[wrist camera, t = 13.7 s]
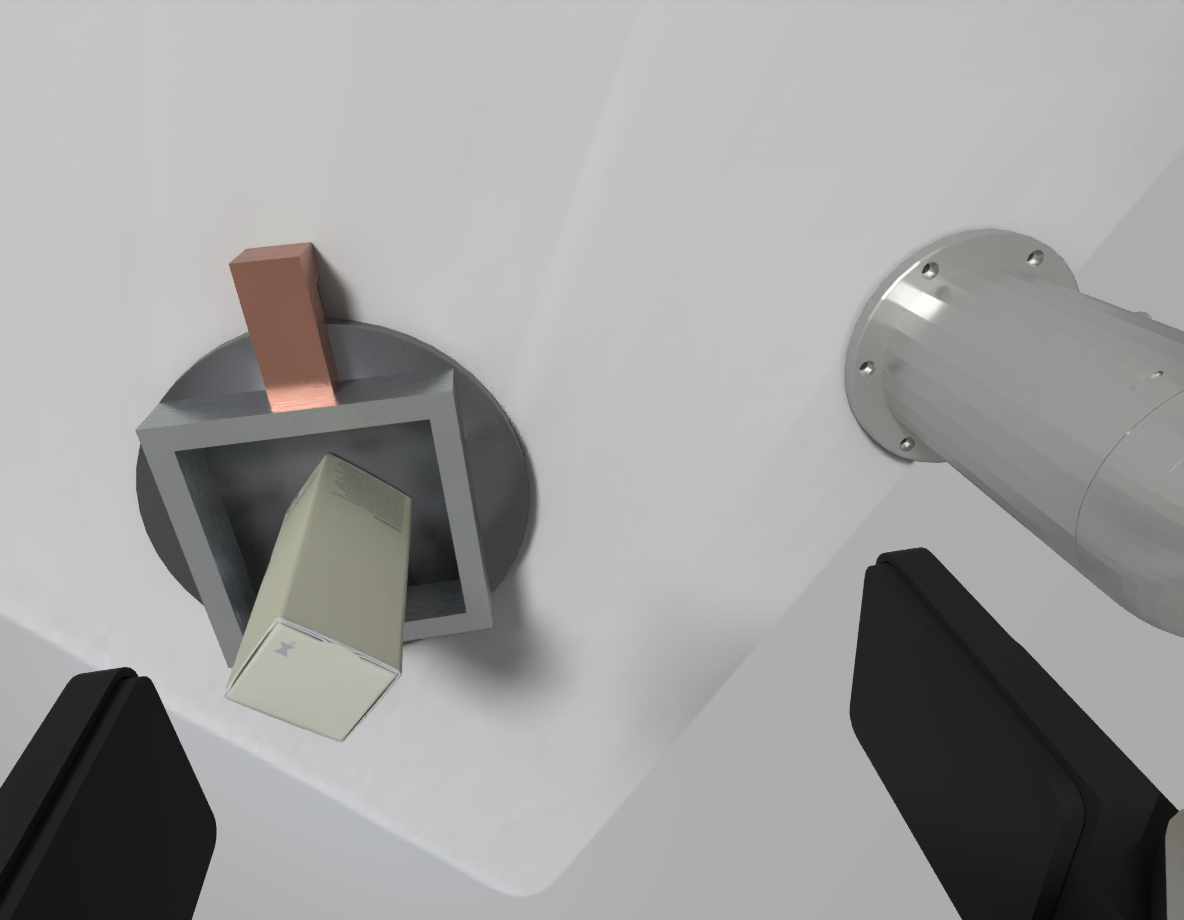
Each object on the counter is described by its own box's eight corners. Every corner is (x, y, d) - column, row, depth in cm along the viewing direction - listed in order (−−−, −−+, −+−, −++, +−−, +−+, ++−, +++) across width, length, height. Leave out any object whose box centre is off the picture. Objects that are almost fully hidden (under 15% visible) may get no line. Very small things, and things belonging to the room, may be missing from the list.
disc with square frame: (494, 223, 35) (497, 241, 31) (544, 613, 45) (551, 659, 42) (51, 268, 33) (2, 293, 29) (211, 663, 43) (189, 716, 40)
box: (283, 511, 39) (208, 697, 27) (329, 447, 37) (270, 614, 26) (376, 559, 41) (341, 750, 29) (422, 499, 39) (405, 675, 28)
